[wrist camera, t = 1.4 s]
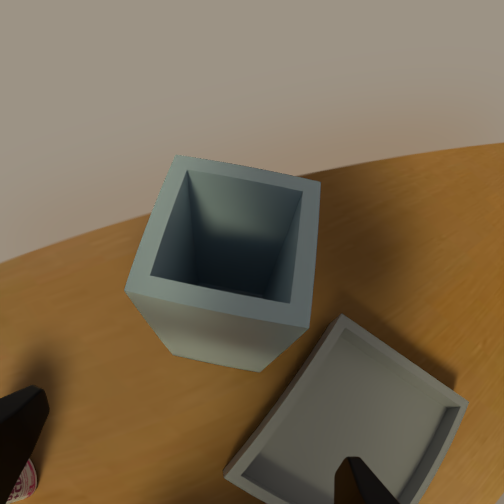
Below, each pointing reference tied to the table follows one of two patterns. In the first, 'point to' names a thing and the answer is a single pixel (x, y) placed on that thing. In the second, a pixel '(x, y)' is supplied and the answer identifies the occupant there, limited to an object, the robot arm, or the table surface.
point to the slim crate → (228, 262)
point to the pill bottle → (24, 484)
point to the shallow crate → (350, 423)
